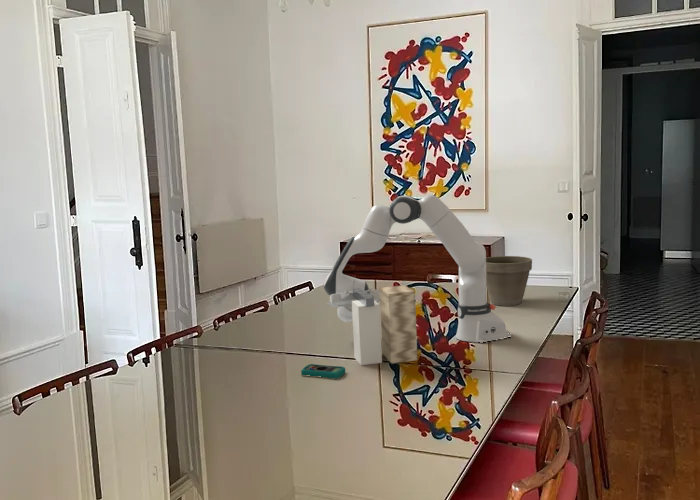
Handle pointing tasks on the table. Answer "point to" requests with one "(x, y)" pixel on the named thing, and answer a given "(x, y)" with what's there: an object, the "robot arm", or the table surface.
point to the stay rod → (363, 297)
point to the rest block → (366, 333)
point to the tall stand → (398, 323)
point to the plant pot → (507, 279)
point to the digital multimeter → (323, 371)
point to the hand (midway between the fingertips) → (359, 291)
